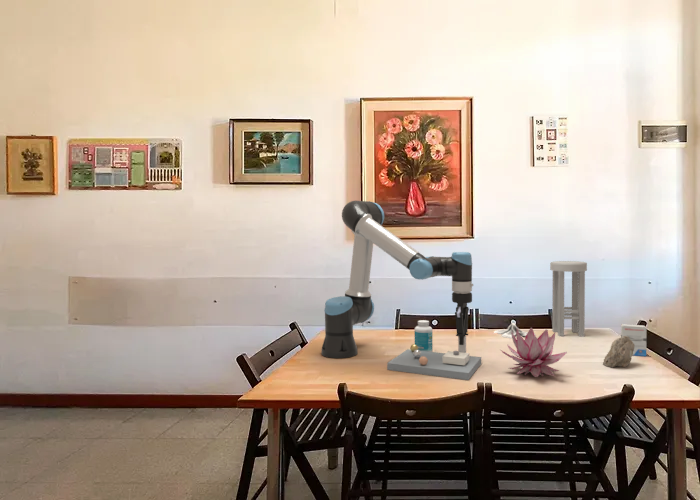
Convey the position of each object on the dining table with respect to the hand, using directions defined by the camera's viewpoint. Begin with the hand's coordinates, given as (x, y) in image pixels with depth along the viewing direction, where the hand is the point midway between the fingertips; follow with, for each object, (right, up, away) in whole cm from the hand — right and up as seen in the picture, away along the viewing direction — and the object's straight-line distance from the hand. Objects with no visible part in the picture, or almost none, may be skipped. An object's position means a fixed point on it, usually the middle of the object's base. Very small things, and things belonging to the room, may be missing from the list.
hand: (462, 352), depth 183 cm
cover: (-4, -1, -9) cm, 10 cm away
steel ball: (-18, 0, -2) cm, 18 cm away
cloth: (+37, -2, +48) cm, 61 cm away
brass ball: (-18, 0, +7) cm, 19 cm away
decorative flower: (+22, -4, -15) cm, 27 cm away
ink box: (+71, -3, +8) cm, 72 cm away
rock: (+57, -4, -6) cm, 58 cm away
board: (-11, -4, -5) cm, 13 cm away
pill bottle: (-13, -4, +15) cm, 20 cm away
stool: (+63, -1, +46) cm, 78 cm away
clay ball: (-17, -1, -11) cm, 20 cm away
